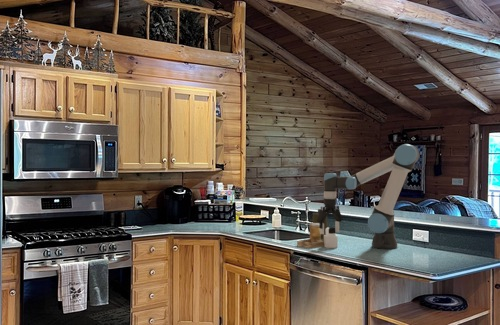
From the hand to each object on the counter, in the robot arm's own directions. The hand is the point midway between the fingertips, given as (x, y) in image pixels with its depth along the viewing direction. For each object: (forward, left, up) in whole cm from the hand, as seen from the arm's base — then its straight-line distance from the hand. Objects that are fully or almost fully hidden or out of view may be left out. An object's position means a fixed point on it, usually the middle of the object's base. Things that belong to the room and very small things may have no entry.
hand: (329, 233), depth 298 cm
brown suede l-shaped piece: (+12, +1, -9) cm, 15 cm away
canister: (+29, -21, -9) cm, 37 cm away
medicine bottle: (0, 0, -9) cm, 9 cm away
